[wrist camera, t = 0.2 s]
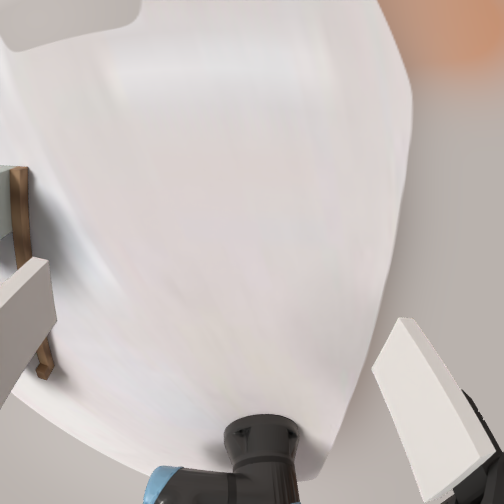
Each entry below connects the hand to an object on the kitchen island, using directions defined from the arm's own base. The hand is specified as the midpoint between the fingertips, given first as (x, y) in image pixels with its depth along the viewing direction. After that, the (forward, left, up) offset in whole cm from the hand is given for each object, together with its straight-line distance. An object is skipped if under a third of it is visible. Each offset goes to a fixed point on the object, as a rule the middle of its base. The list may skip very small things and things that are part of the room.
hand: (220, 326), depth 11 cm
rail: (-21, +29, -28) cm, 45 cm away
